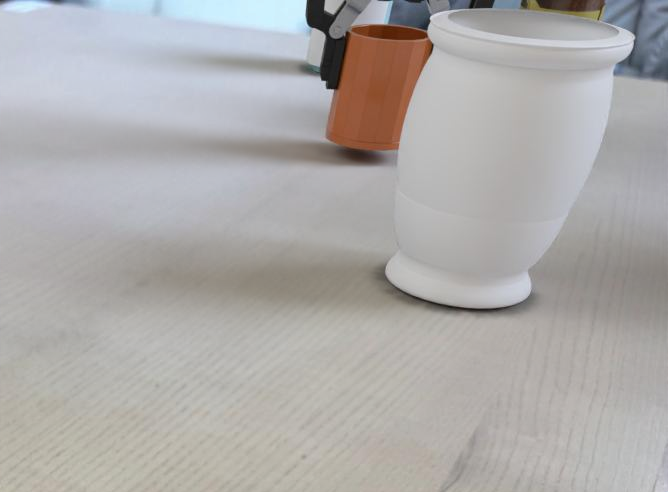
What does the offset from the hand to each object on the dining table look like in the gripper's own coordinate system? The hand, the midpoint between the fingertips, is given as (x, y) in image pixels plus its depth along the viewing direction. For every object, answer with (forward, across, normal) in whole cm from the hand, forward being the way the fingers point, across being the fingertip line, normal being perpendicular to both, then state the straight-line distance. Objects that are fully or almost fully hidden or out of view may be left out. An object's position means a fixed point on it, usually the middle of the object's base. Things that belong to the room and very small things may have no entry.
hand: (377, 90), depth 94 cm
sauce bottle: (+5, +14, +11) cm, 19 cm away
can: (+5, 0, +31) cm, 31 cm away
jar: (+5, +3, -28) cm, 28 cm away
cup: (+4, 0, 0) cm, 4 cm away
